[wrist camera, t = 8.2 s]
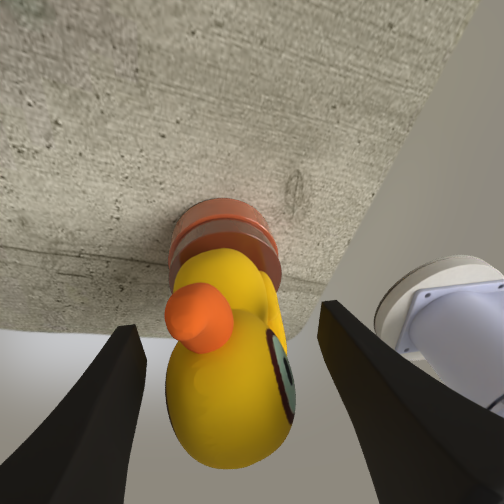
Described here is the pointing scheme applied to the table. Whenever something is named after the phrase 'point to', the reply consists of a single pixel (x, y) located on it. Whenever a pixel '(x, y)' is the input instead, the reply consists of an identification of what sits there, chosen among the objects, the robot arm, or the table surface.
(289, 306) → the table surface
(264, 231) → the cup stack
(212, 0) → the table surface
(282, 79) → the table surface
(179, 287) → the duckling
